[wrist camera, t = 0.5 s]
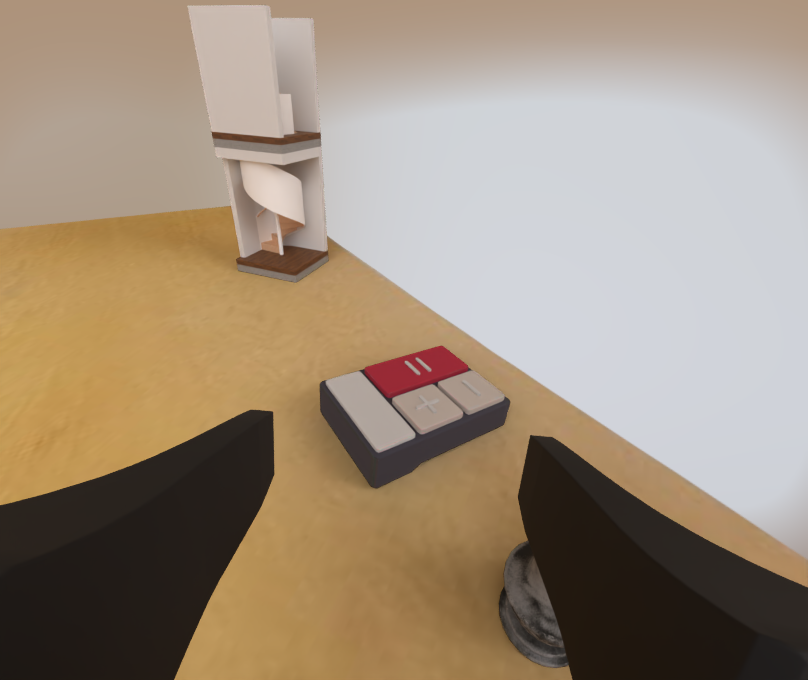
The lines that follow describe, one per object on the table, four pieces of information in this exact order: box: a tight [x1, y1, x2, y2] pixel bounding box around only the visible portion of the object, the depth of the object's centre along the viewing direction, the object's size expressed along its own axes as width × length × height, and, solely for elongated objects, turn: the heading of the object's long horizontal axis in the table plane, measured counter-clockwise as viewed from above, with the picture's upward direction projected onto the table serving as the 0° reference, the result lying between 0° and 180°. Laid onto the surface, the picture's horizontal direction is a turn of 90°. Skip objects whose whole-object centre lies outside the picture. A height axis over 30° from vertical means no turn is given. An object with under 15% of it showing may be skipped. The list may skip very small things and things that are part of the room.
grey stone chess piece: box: [499, 541, 569, 668], centre depth 22 cm, size 6×6×12 cm
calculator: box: [320, 346, 510, 488], centre depth 39 cm, size 11×4×15 cm
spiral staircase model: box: [188, 5, 328, 282], centre depth 62 cm, size 11×11×35 cm
